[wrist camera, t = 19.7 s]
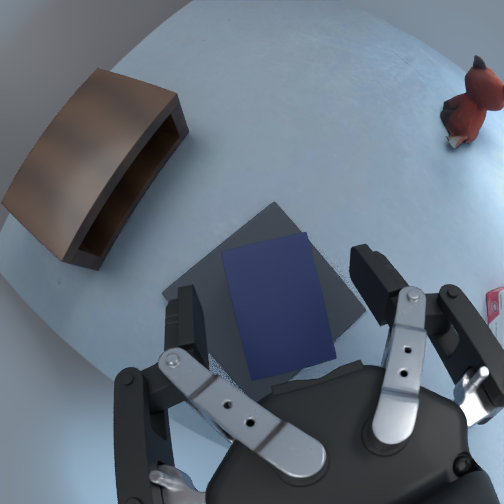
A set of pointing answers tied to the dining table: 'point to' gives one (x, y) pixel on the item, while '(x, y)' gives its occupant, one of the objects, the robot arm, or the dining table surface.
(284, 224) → the mat
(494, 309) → the ink box
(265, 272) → the tea box
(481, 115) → the stuffed fox
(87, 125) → the shelf
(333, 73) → the dining table surface
